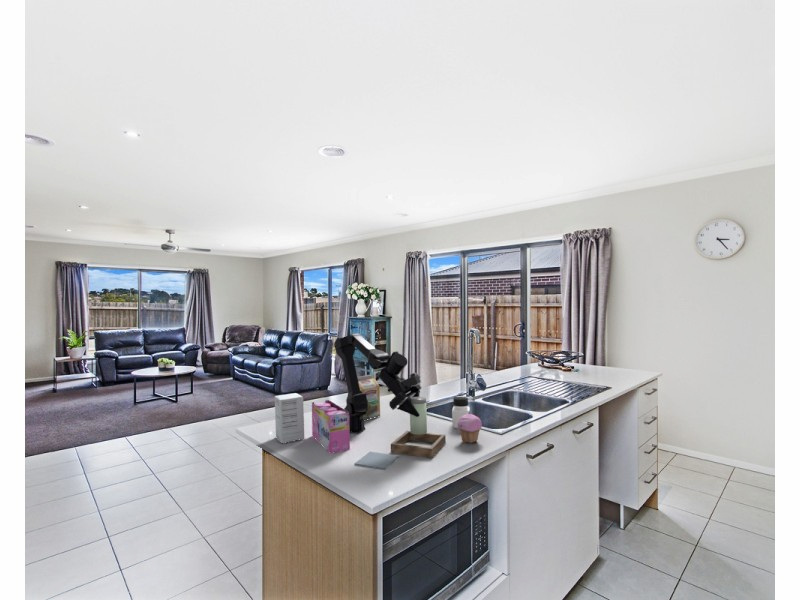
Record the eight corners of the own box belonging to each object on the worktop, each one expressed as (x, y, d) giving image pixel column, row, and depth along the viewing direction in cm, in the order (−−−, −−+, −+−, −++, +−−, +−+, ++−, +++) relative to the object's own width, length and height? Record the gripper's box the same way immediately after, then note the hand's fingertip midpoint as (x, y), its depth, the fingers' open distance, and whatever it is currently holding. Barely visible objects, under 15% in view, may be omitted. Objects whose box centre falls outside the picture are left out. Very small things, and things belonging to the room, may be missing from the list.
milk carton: (366, 412, 193) (365, 373, 193) (380, 416, 185) (379, 375, 186) (348, 417, 186) (347, 376, 186) (362, 421, 178) (360, 379, 178)
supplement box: (305, 439, 156) (303, 396, 156) (281, 444, 152) (280, 400, 152) (298, 433, 165) (296, 392, 165) (275, 437, 160) (274, 395, 160)
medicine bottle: (469, 428, 164) (468, 399, 164) (452, 427, 166) (451, 398, 166) (470, 423, 171) (469, 395, 171) (453, 422, 173) (452, 395, 173)
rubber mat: (354, 464, 130) (354, 463, 130) (369, 453, 140) (369, 451, 140) (384, 469, 126) (384, 467, 126) (398, 456, 136) (398, 455, 136)
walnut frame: (390, 452, 140) (390, 443, 140) (407, 438, 154) (407, 430, 154) (432, 457, 134) (432, 449, 134) (445, 442, 148) (445, 434, 148)
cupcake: (468, 436, 155) (467, 410, 155) (487, 441, 149) (486, 414, 149) (453, 441, 149) (452, 415, 149) (472, 447, 143) (471, 419, 143)
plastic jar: (407, 433, 143) (406, 400, 143) (413, 428, 148) (413, 396, 148) (423, 435, 140) (422, 401, 140) (429, 430, 146) (428, 397, 146)
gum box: (310, 435, 162) (309, 401, 162) (329, 431, 165) (328, 399, 166) (330, 453, 141) (328, 415, 141) (350, 449, 145) (349, 411, 145)
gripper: (396, 371, 137) (427, 405, 133) (415, 363, 154) (444, 393, 150) (376, 392, 140) (406, 426, 136) (397, 382, 157) (424, 412, 153)
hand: (421, 413), depth 144 cm, fingers closed on plastic jar, 6 cm apart
